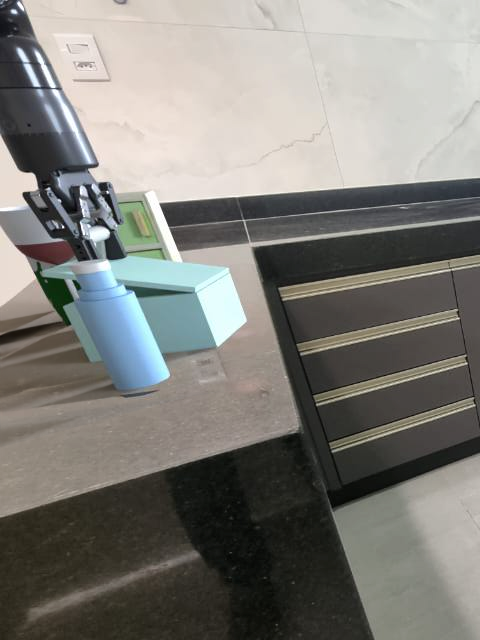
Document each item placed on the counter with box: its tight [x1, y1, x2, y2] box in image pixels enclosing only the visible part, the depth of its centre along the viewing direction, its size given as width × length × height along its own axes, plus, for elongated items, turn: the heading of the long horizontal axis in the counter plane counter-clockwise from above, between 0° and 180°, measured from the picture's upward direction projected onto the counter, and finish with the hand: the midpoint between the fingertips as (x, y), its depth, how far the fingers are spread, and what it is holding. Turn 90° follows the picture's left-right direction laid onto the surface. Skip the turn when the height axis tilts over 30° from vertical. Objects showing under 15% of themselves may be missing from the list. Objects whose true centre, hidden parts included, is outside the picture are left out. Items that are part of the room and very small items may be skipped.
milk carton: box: [25, 224, 96, 327], centre depth 89 cm, size 9×9×20 cm
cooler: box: [63, 272, 248, 363], centre depth 78 cm, size 15×12×9 cm
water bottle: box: [70, 259, 171, 398], centre depth 63 cm, size 5×5×16 cm
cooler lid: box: [42, 225, 230, 293], centre depth 74 cm, size 16×12×6 cm
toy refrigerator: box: [95, 190, 183, 262], centre depth 87 cm, size 8×7×21 cm
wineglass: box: [0, 204, 79, 300], centre depth 83 cm, size 8×9×20 cm
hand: (106, 262), depth 73 cm, fingers closed on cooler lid, 5 cm apart
